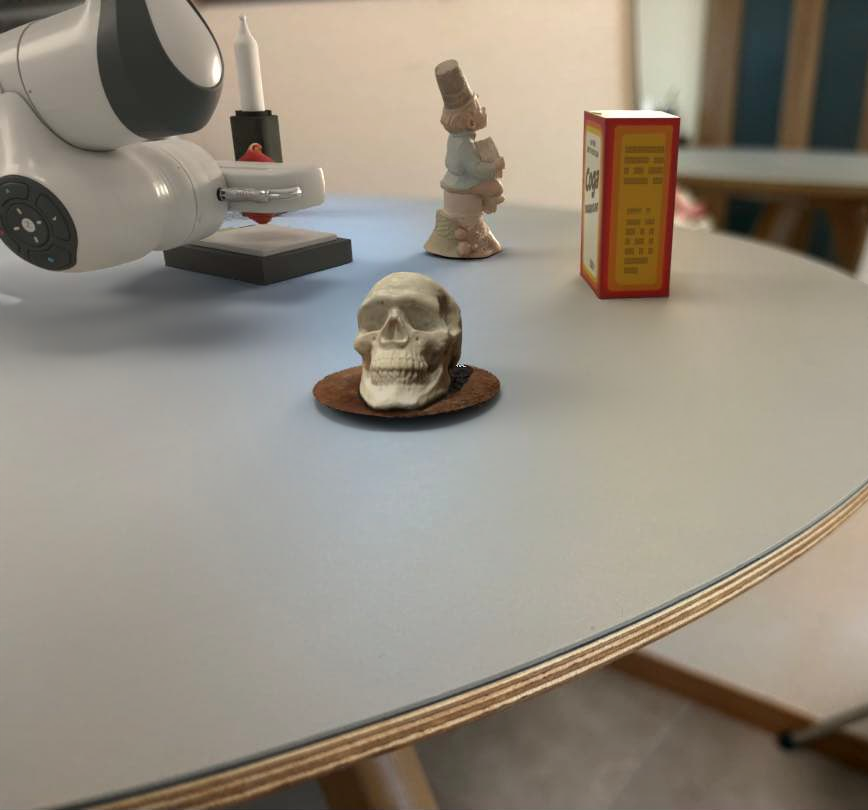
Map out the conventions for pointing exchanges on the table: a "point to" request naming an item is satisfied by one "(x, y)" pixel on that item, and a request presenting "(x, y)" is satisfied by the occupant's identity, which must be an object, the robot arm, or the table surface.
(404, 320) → the skull
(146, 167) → the robot arm
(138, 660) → the table surface
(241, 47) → the candle
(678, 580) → the table surface
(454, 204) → the figurine
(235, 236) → the scale
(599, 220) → the baking soda box
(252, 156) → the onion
